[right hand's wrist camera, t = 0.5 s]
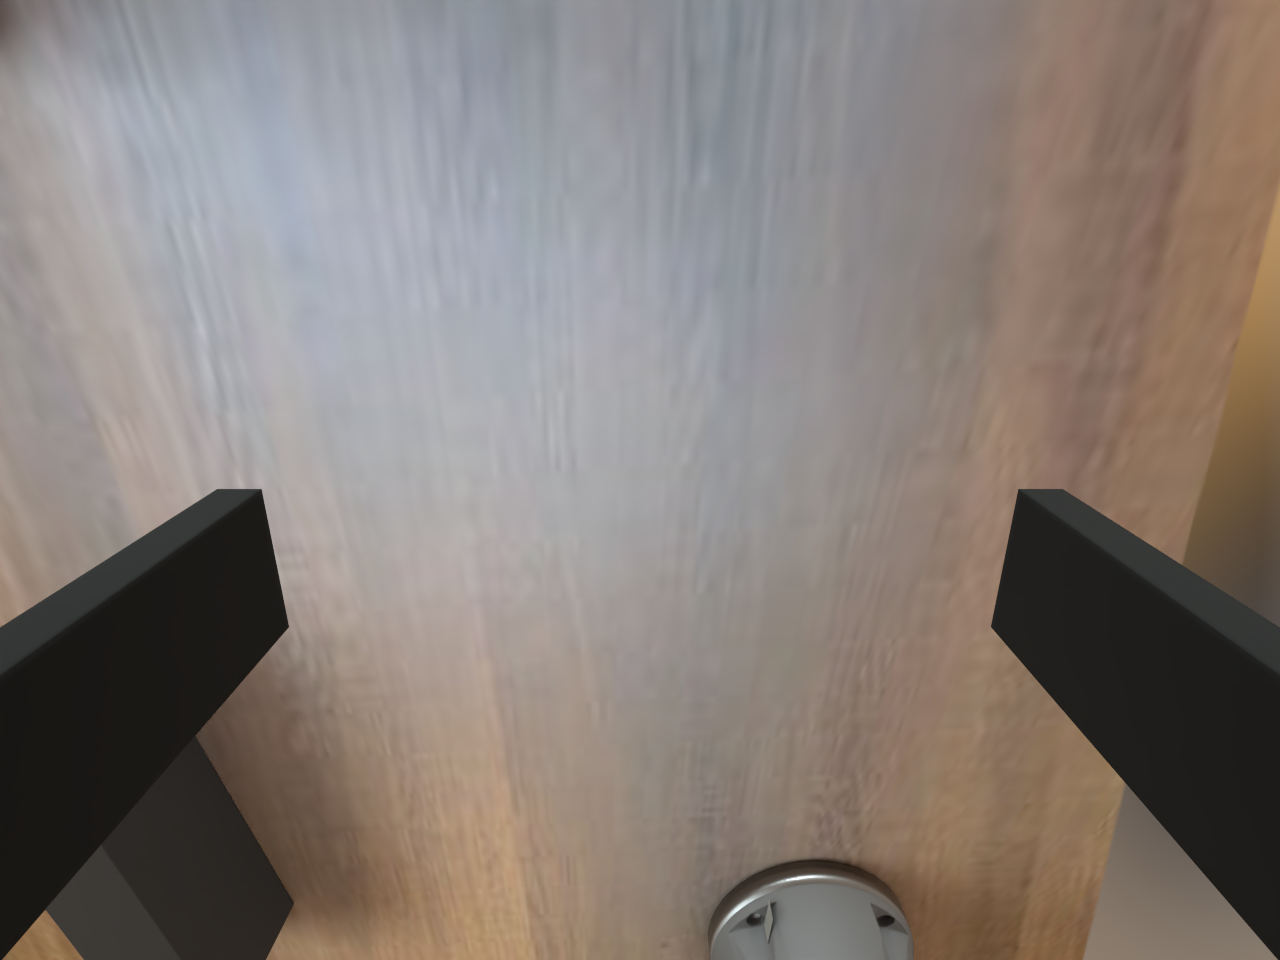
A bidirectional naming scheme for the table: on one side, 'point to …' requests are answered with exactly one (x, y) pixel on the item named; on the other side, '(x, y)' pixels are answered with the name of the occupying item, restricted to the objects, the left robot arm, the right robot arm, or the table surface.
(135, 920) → the bar
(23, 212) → the table surface
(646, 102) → the table surface
